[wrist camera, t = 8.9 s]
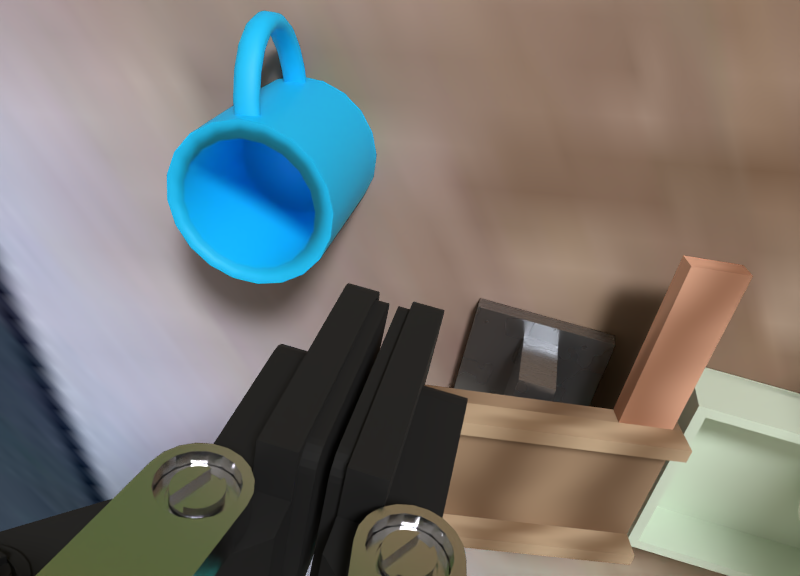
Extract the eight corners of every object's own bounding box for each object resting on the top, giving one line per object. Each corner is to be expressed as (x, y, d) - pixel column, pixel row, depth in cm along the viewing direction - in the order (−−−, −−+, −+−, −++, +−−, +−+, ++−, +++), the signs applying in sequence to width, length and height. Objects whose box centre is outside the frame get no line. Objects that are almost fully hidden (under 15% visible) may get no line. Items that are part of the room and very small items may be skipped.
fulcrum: (614, 335, 42) (618, 391, 37) (552, 480, 48) (549, 544, 43) (480, 298, 42) (468, 348, 38) (436, 445, 49) (421, 504, 44)
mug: (378, 223, 41) (337, 291, 35) (245, 212, 43) (181, 276, 36) (372, 0, 36) (322, 29, 29) (219, -3, 37) (135, 23, 30)
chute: (753, 266, 34) (795, 314, 30) (617, 529, 43) (637, 587, 40) (418, 212, 32) (422, 257, 28) (353, 499, 41) (351, 559, 38)
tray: (924, 428, 40) (955, 478, 37) (825, 557, 46) (845, 611, 43) (689, 362, 41) (699, 405, 38) (621, 496, 47) (625, 544, 44)
